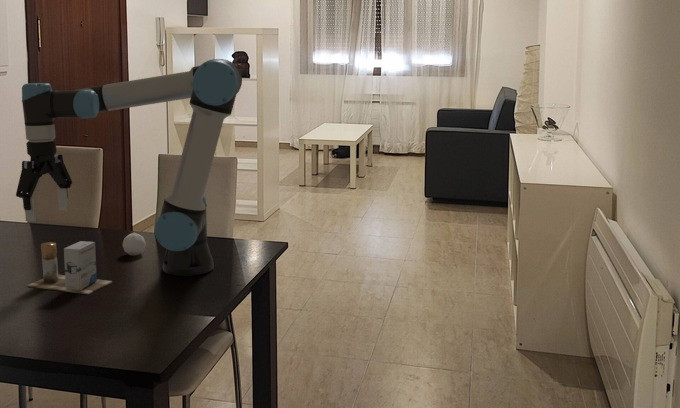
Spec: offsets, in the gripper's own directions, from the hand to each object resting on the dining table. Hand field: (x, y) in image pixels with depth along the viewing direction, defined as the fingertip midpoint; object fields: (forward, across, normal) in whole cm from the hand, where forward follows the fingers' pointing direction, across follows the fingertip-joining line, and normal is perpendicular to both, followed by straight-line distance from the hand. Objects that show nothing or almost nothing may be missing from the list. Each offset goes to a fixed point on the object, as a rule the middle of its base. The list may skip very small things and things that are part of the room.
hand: (47, 215), depth 206 cm
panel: (+20, 0, +5) cm, 20 cm away
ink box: (+20, 0, +10) cm, 22 cm away
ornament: (+20, -33, +5) cm, 39 cm away
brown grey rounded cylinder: (+19, 0, -1) cm, 19 cm away
